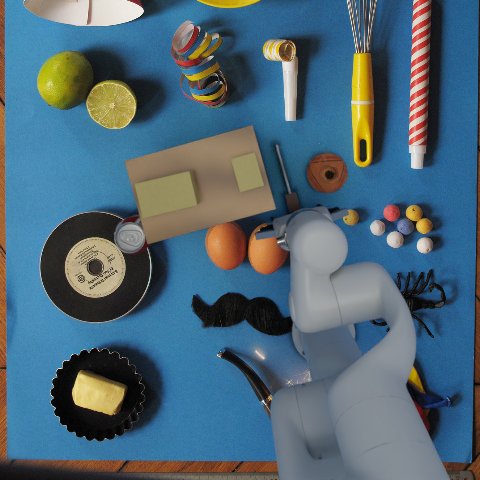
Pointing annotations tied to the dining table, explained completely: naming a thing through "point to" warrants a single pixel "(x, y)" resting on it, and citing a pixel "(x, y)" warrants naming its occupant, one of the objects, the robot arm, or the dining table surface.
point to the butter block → (167, 194)
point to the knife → (290, 196)
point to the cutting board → (203, 183)
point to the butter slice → (247, 172)
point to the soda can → (131, 235)
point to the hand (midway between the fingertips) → (296, 217)
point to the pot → (327, 172)
